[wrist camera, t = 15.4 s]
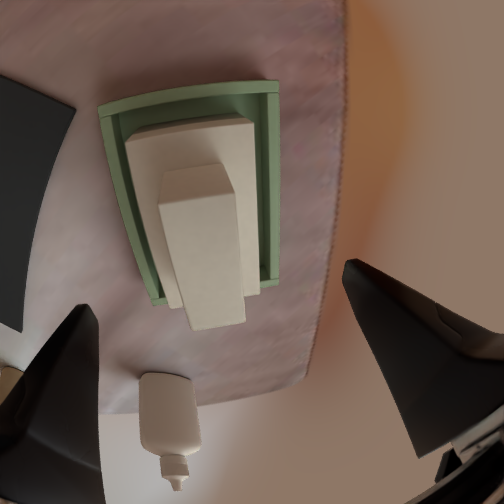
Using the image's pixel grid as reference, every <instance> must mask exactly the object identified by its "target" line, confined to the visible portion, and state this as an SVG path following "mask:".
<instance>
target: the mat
mask: <svg viewBox="0 0 504 504" xmlns="http://www.w3.org/2000/svg"><path fill="white" fill-rule="evenodd" d="M75 112H76V109H75V108H73V107H71V106H68V105H66V104H64V103H62V102H60V101H58V100H56V99H54V98H52V97H49V96H47V95H45V94H43V93H41V92H39V91H36V90H34V89H32V88H30V87H28V86H25V85H23V84H21V83H18V82H16V81H14V80H12V79H9V78H7V77H5V76H2V75H0V322H1V323H2V324H4V325H6V326H8V327H10V328H12V329H14V330H16V331H18V332H20V333H22V330H23V309H24V297H25V287H26V278H27V271H28V264H29V258H30V252H31V246H32V241H33V236H34V232H35V227H36V223H37V219H38V215H39V211H40V207H41V203H42V200H43V196H44V193H45V189H46V186H47V183H48V180H49V177H50V174H51V171H52V168H53V165H54V162H55V160H56V157H57V154H58V152H59V149H60V147H61V144H62V142H63V139H64V137H65V134H66V132H67V130H68V128H69V125H70V123H71V121H72V119H73V117H74V114H75Z"/></svg>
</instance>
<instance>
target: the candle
mask: <svg viewBox="0 0 504 504" xmlns="http://www.w3.org/2000/svg"><path fill="white" fill-rule="evenodd" d="M22 375H23V372H21V371H19V370H17V369H14V368H11V367H5V368H3V370H2V373H1V376H0V405H1V403H2V402H3V401H4V399H5V398H6V397H7V395H8V394H9V393H10V391H11V390H12V388H13V387H14V386H15V384H16V383H17V381H18V380H19V378H20V377H21V376H22Z"/></svg>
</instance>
